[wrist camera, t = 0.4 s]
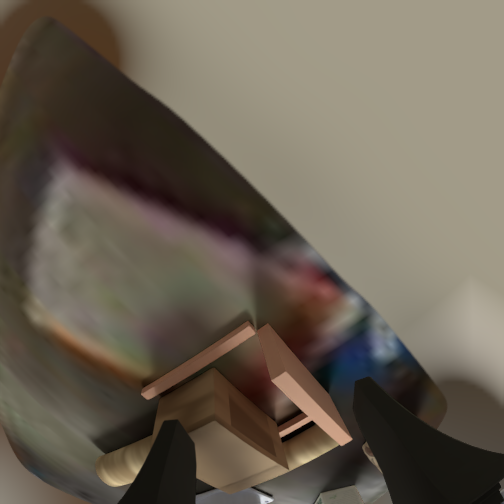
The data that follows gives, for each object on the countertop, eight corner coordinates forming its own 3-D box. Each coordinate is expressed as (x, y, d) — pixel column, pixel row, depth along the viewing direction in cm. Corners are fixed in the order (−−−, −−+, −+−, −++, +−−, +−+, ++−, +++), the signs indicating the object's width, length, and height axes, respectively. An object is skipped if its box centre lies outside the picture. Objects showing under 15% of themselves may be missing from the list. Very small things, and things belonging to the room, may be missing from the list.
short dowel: (268, 458, 26) (276, 481, 23) (252, 451, 24) (259, 476, 21) (331, 424, 25) (343, 447, 22) (319, 415, 24) (332, 440, 21)
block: (225, 448, 24) (229, 494, 18) (159, 398, 21) (150, 449, 16) (276, 422, 23) (289, 470, 18) (213, 366, 21) (214, 420, 15)
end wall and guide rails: (231, 455, 24) (236, 500, 18) (142, 388, 21) (128, 439, 15) (333, 399, 24) (357, 444, 18) (259, 312, 21) (275, 359, 15)
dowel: (126, 467, 24) (121, 492, 20) (100, 449, 23) (91, 474, 19) (197, 439, 23) (196, 470, 20) (168, 417, 22) (163, 449, 19)
